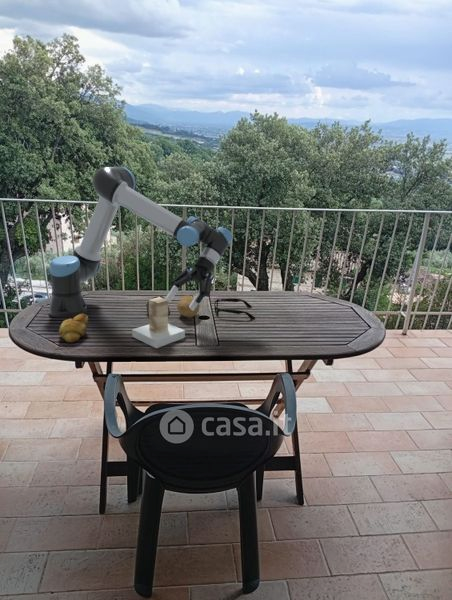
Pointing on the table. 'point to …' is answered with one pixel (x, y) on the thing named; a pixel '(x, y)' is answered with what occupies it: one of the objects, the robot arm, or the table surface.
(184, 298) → the potato
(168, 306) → the brown arched figurine
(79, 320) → the bread roll
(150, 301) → the beech block
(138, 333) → the stone tile base
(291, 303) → the table surface
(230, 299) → the glasses
